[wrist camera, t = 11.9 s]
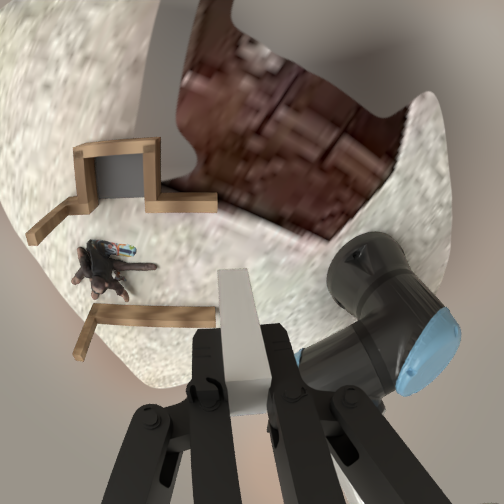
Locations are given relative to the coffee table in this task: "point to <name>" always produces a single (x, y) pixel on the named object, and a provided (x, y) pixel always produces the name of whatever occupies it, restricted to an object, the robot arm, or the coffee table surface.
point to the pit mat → (120, 176)
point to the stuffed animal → (106, 266)
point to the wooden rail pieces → (153, 204)
